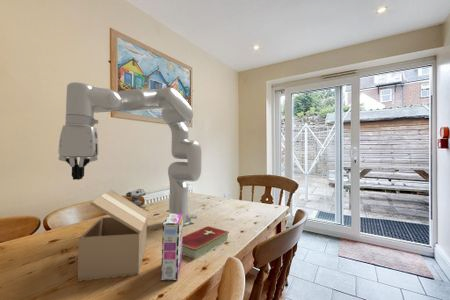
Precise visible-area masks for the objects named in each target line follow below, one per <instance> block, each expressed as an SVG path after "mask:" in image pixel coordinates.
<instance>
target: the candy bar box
mask: <svg viewBox="0 0 450 300" xmlns="http://www.w3.org/2000/svg"><path fill="white" fill-rule="evenodd" d="M183 229H184V226H183V214H180V213H174V214H169V213H168V215H167V217H166V219H165V220H164V221H163V223H162V238H161V239H162V242H161V243H162V244H161V245H162V246H161V268H160V269H161V271H160V272H161V274H160V281H161V280H177V281H178V279H179V274H180V269H181V265H182V261H183V254H182V237H183V236H184V234H183V233H184V232H183V231H184V230H183Z"/></svg>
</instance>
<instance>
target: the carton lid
mask: <svg viewBox="0 0 450 300" xmlns="http://www.w3.org/2000/svg"><path fill="white" fill-rule="evenodd" d="M129 200H130V199H127V198H125V197H124V196H123V195H120V194H119V193H117V192H116V191H115V190H113V189H110V190H108V191H107V192H105V193H103V194H102V195H100V196H99V197H97V198H96V199H94V200H92V201H91V202H90V205H91V206H92V207H94V208H96V209H98V210H99V211H101V212H103V213H104V214H106V215H108V217H112V218H114V219H116V220H117V221H119V222H121V223H122V224H124V225H126V226H127V227H129V228H131V229H132V230H134V231H136V232H138V233H139V234H140V232H141V231H142V228H143V226H144V223H145V221H146V218H147V219H148V216H149V212H148V211H146V209H142V208H140V207H138V206H137V205H135V204H134V203H132V202H130V201H129Z"/></svg>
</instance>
